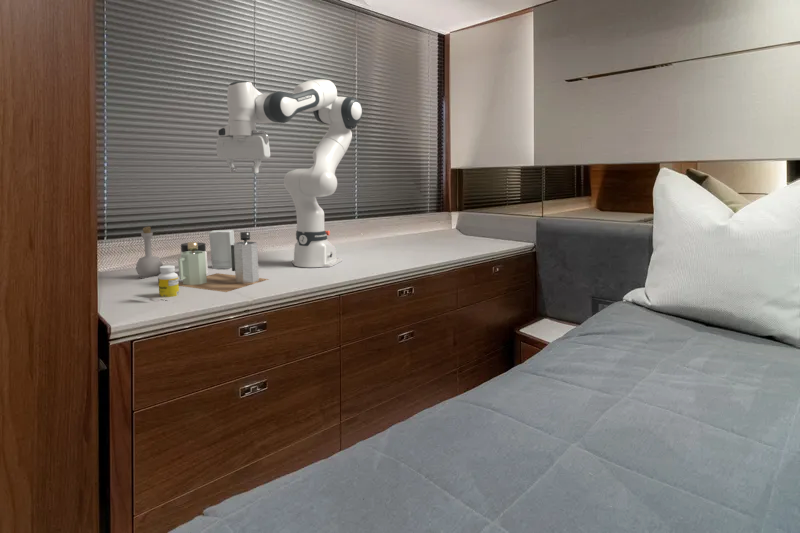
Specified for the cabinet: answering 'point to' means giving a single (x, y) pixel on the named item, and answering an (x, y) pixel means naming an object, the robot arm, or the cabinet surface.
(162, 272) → the supplement bottle
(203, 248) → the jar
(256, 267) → the steel press
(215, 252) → the skincare box
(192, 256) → the pale green octagonal mug
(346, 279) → the cabinet surface
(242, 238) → the steel plunger
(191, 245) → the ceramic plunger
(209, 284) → the serving board
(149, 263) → the potion bottle
